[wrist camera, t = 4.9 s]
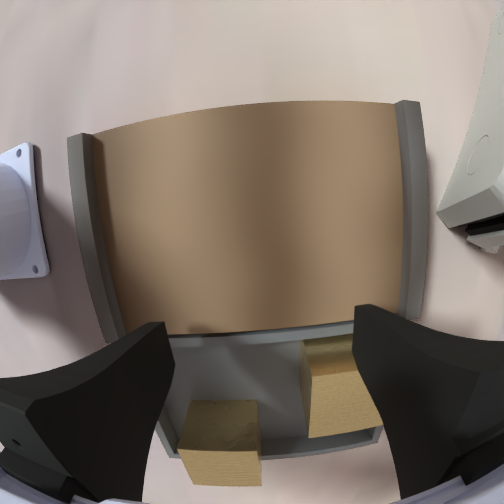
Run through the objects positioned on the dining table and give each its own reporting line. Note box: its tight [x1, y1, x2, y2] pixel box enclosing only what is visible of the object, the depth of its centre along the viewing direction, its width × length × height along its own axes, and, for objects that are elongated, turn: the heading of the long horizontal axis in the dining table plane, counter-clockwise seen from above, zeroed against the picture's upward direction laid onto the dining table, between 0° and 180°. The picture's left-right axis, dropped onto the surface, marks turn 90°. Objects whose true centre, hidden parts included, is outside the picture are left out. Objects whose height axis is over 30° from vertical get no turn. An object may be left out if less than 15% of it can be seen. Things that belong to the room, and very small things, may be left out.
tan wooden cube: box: [299, 333, 383, 438], centre depth 13 cm, size 4×4×4 cm
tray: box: [155, 313, 401, 460], centre depth 15 cm, size 14×10×2 cm
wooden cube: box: [177, 399, 261, 486], centre depth 14 cm, size 4×4×4 cm
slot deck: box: [67, 100, 428, 343], centre depth 12 cm, size 14×9×3 cm, turn 95°
